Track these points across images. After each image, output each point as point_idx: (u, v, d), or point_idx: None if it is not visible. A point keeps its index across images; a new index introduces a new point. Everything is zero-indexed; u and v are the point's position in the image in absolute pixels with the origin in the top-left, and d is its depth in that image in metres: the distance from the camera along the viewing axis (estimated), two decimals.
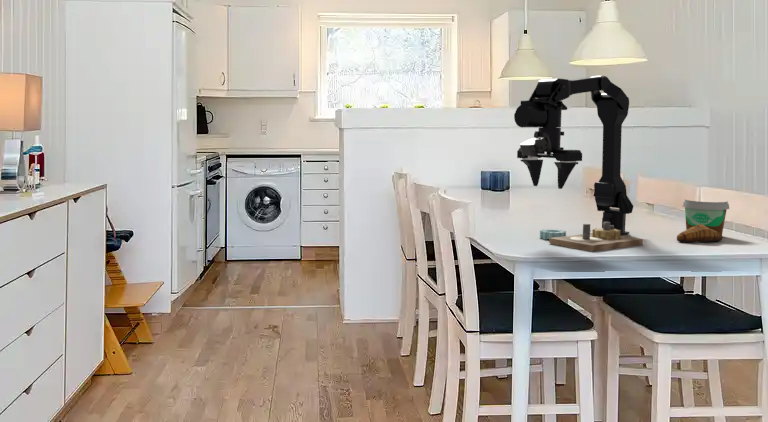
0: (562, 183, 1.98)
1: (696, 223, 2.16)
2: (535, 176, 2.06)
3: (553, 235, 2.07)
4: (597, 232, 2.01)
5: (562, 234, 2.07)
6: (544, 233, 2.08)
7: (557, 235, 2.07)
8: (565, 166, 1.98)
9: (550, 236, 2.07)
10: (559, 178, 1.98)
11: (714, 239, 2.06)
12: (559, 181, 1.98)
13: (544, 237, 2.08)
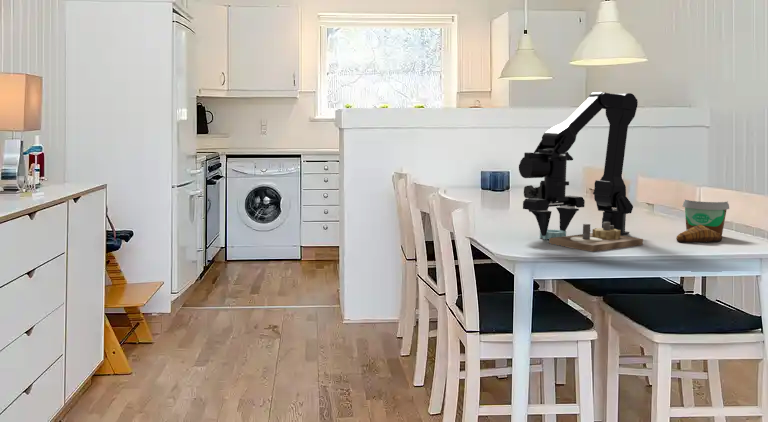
0: (542, 230, 2.07)
1: (696, 223, 2.16)
2: (561, 224, 2.12)
3: (553, 235, 2.07)
4: (597, 232, 2.01)
5: (562, 234, 2.07)
6: None
7: (557, 235, 2.07)
8: (542, 214, 2.06)
9: (550, 236, 2.07)
10: None
11: (714, 240, 2.07)
12: None
13: (544, 237, 2.08)
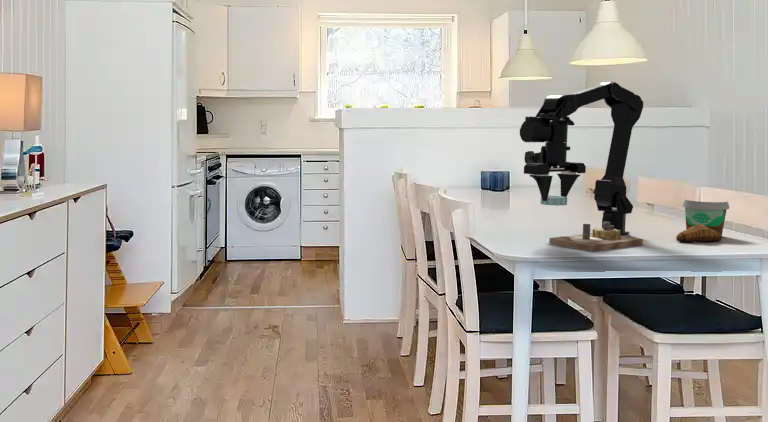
0: (543, 195, 2.06)
1: (696, 223, 2.16)
2: (562, 190, 2.11)
3: (554, 200, 2.06)
4: (597, 232, 2.01)
5: (563, 199, 2.06)
6: None
7: (558, 200, 2.06)
8: (543, 179, 2.05)
9: (551, 201, 2.06)
10: None
11: (713, 239, 2.07)
12: None
13: (545, 202, 2.07)
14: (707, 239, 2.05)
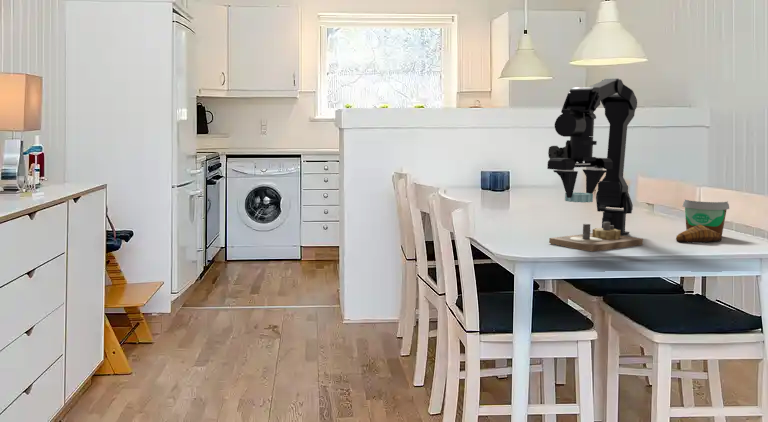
0: (568, 192, 1.97)
1: (696, 223, 2.16)
2: (588, 186, 2.02)
3: (579, 197, 1.97)
4: (597, 232, 2.01)
5: (589, 196, 1.97)
6: None
7: (583, 197, 1.96)
8: (568, 175, 1.96)
9: (576, 198, 1.97)
10: None
11: (713, 240, 2.07)
12: None
13: (569, 199, 1.98)
14: (707, 240, 2.05)
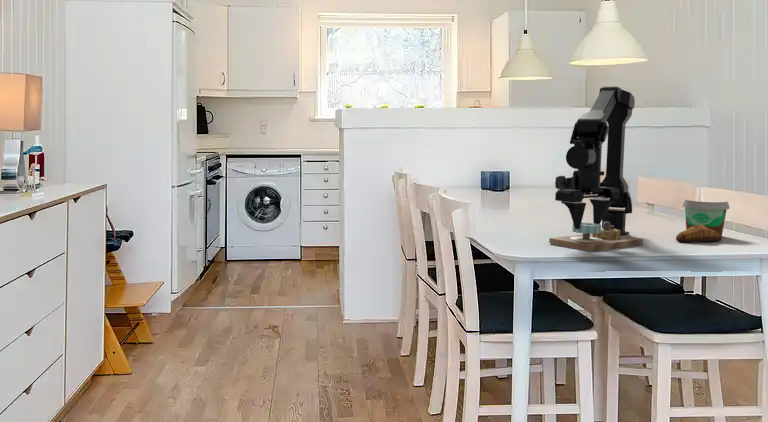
0: (576, 223, 1.95)
1: (696, 223, 2.16)
2: (595, 217, 2.00)
3: (587, 228, 1.95)
4: None
5: (597, 227, 1.95)
6: None
7: (592, 228, 1.95)
8: (576, 206, 1.94)
9: (584, 229, 1.95)
10: None
11: (713, 239, 2.07)
12: None
13: (577, 230, 1.96)
14: (707, 239, 2.05)
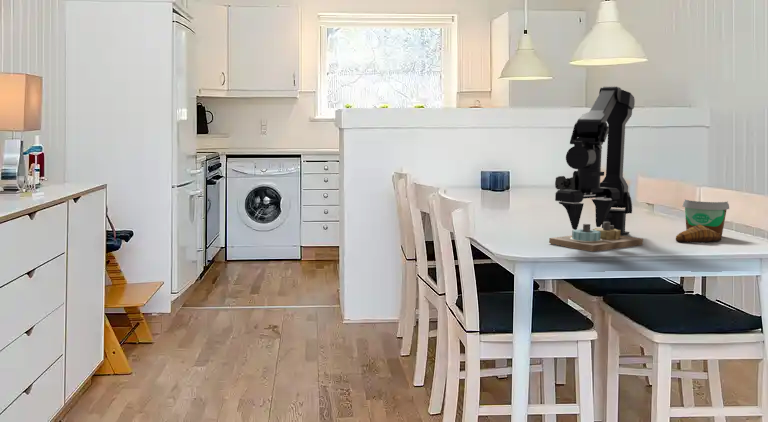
0: (573, 224, 1.95)
1: (696, 223, 2.16)
2: (598, 217, 2.01)
3: (587, 235, 1.95)
4: None
5: (597, 234, 1.96)
6: (577, 233, 1.96)
7: (591, 235, 1.95)
8: (573, 207, 1.94)
9: (584, 237, 1.95)
10: None
11: (713, 240, 2.07)
12: None
13: (577, 238, 1.96)
14: (707, 240, 2.05)
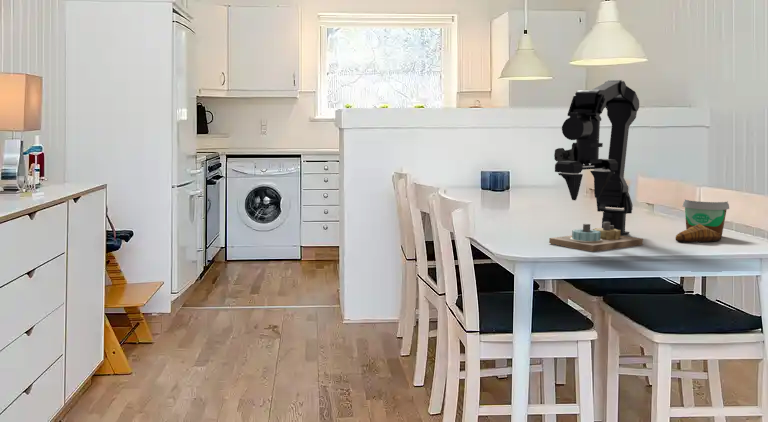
0: (573, 195, 1.98)
1: (696, 223, 2.16)
2: (596, 188, 2.04)
3: (587, 235, 1.95)
4: None
5: (597, 234, 1.96)
6: (577, 233, 1.96)
7: (591, 235, 1.95)
8: (573, 178, 1.97)
9: (584, 237, 1.95)
10: None
11: (713, 239, 2.07)
12: None
13: (577, 238, 1.96)
14: (706, 239, 2.06)
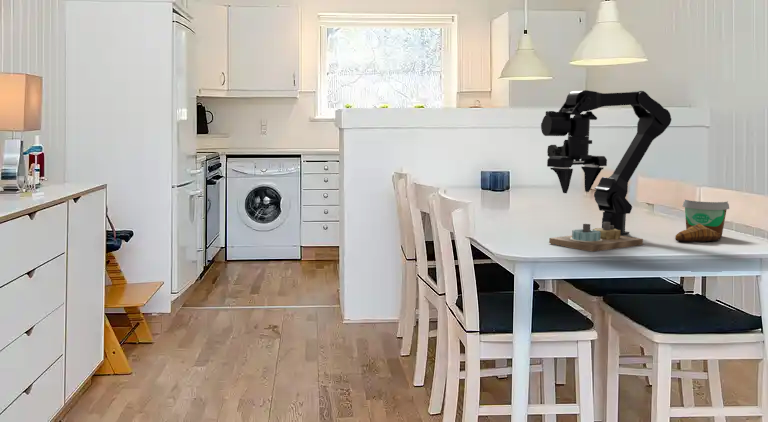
0: (564, 188, 2.12)
1: (696, 223, 2.16)
2: (586, 182, 2.18)
3: (587, 235, 1.95)
4: None
5: (597, 234, 1.96)
6: (577, 233, 1.96)
7: (591, 235, 1.95)
8: (564, 172, 2.11)
9: (584, 237, 1.95)
10: None
11: (712, 239, 2.07)
12: None
13: (577, 238, 1.96)
14: (706, 239, 2.06)
